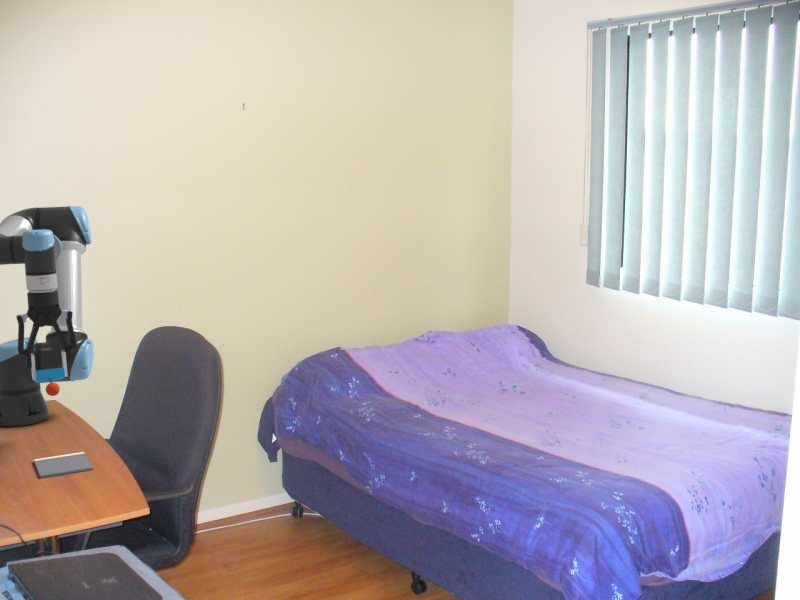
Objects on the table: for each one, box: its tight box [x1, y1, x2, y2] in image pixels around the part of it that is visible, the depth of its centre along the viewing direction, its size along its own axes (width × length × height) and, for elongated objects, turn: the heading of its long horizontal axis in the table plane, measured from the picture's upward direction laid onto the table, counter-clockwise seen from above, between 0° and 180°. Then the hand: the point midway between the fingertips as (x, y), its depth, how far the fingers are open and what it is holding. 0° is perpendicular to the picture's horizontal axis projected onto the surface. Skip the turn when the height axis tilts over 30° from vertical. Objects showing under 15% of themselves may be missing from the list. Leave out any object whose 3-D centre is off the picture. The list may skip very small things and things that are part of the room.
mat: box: [33, 451, 94, 479], centre depth 241 cm, size 14×12×1 cm
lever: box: [35, 368, 65, 397], centre depth 256 cm, size 7×7×18 cm
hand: (49, 377), depth 256 cm, fingers closed on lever, 7 cm apart
